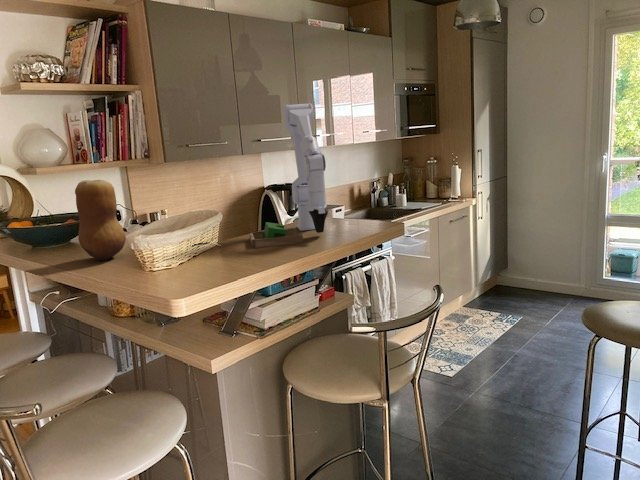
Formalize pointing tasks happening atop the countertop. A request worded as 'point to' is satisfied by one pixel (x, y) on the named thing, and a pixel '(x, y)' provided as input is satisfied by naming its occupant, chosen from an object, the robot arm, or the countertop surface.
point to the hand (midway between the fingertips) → (319, 231)
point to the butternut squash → (98, 219)
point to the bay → (275, 238)
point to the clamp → (274, 230)
